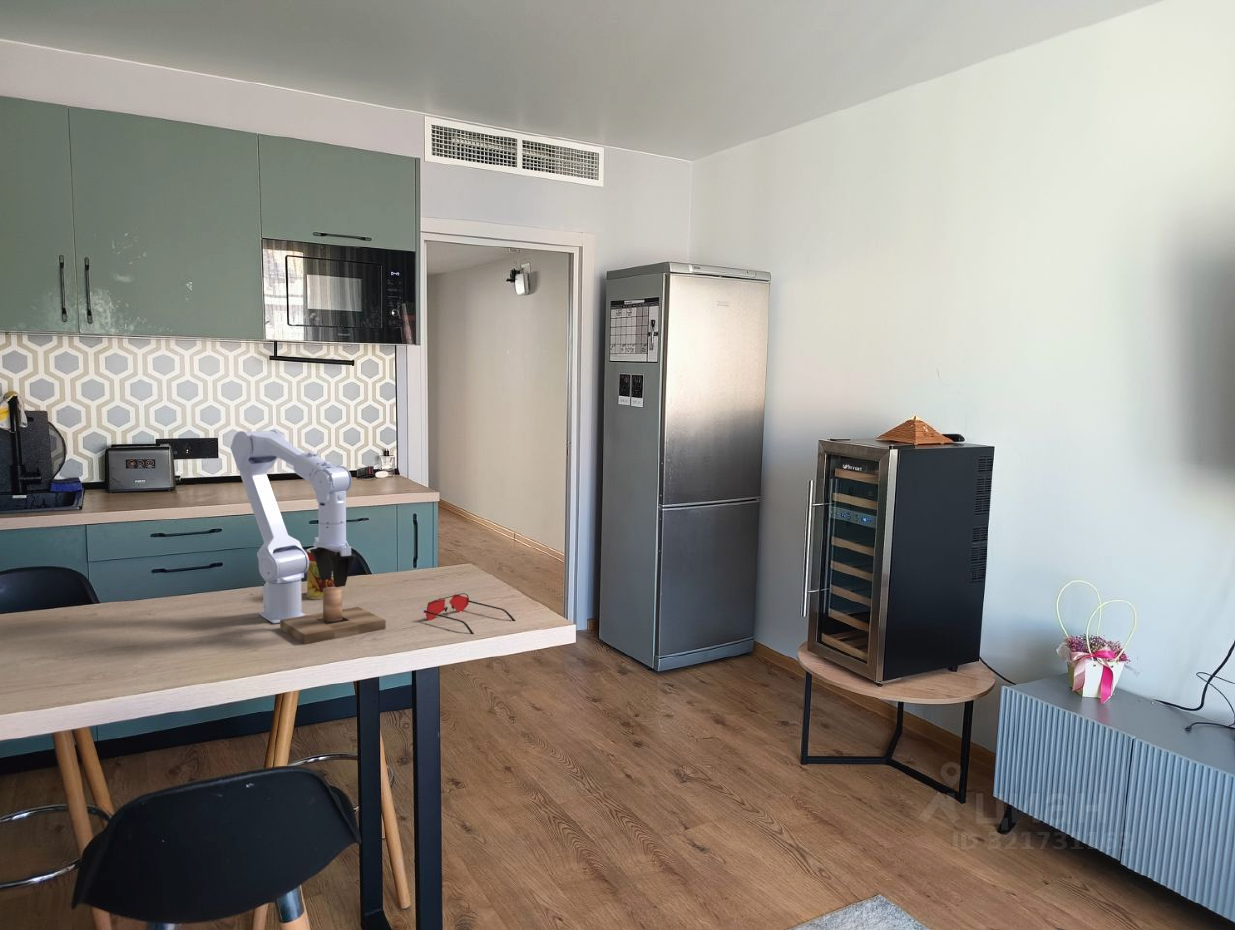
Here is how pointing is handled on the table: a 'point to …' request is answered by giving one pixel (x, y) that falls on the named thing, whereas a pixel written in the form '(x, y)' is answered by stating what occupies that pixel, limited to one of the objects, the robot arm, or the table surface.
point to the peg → (332, 605)
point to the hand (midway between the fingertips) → (332, 583)
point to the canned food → (316, 579)
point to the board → (332, 625)
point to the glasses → (457, 603)
